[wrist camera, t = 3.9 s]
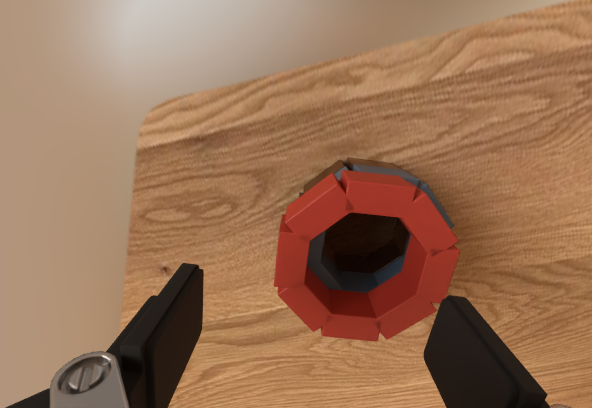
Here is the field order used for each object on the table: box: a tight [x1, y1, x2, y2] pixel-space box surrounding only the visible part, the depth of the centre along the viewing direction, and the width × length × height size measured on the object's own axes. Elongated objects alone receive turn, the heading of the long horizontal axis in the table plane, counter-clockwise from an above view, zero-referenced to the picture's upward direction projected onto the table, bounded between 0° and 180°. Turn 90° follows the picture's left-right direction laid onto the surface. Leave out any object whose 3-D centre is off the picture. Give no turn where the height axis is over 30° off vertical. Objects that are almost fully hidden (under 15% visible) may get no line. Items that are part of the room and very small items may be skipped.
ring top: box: [274, 170, 460, 341], centre depth 16 cm, size 9×9×2 cm
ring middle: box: [307, 164, 456, 293], centre depth 18 cm, size 9×9×2 cm
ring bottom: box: [299, 158, 410, 274], centre depth 21 cm, size 9×9×2 cm
